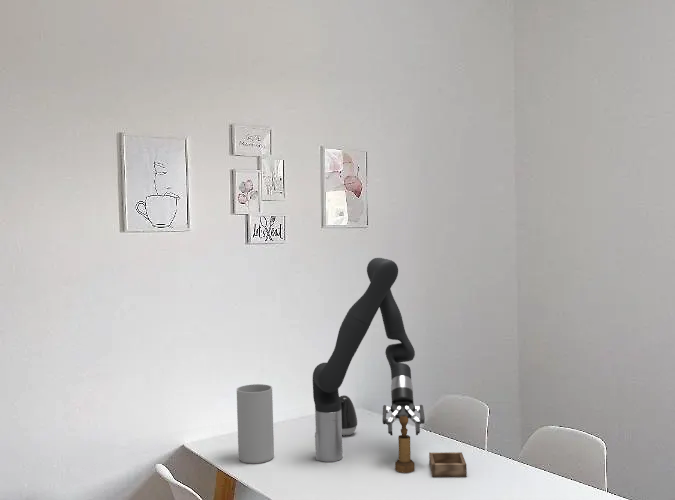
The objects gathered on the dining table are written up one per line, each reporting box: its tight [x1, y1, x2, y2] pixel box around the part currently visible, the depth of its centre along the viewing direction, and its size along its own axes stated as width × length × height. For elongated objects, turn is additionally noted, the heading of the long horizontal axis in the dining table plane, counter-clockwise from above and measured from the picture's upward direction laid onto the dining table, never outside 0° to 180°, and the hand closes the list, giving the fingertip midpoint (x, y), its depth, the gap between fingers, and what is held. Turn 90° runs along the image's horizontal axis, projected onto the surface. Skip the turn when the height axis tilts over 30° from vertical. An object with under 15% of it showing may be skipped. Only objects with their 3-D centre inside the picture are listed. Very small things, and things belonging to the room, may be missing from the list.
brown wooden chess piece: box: [394, 416, 416, 474], centre depth 228 cm, size 7×6×18 cm
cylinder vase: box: [236, 383, 275, 465], centre depth 243 cm, size 12×12×25 cm
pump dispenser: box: [339, 394, 358, 437], centre depth 270 cm, size 10×10×15 cm
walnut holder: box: [428, 451, 468, 478], centre depth 227 cm, size 11×12×4 cm
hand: (404, 434), depth 229 cm, fingers open, 8 cm apart
